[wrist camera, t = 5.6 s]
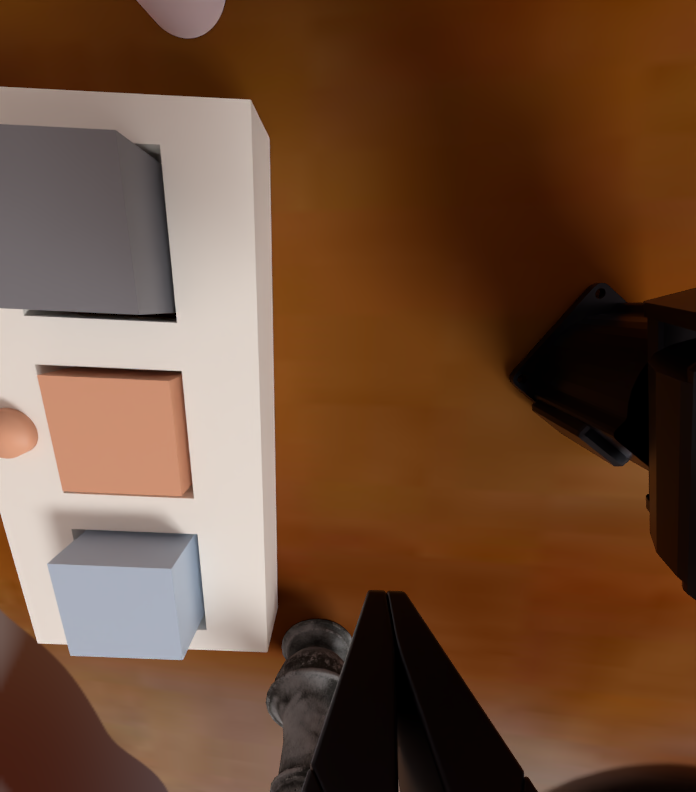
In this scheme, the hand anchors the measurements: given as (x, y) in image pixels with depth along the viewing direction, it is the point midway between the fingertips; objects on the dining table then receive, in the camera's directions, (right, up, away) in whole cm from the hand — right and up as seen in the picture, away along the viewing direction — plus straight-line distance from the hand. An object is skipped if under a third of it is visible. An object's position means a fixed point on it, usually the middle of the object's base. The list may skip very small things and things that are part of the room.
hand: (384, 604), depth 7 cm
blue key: (-13, -6, +12) cm, 18 cm away
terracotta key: (-12, +4, +11) cm, 17 cm away
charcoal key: (-12, +12, +7) cm, 18 cm away
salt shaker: (-3, -14, +17) cm, 22 cm away
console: (-12, +4, +11) cm, 17 cm away
